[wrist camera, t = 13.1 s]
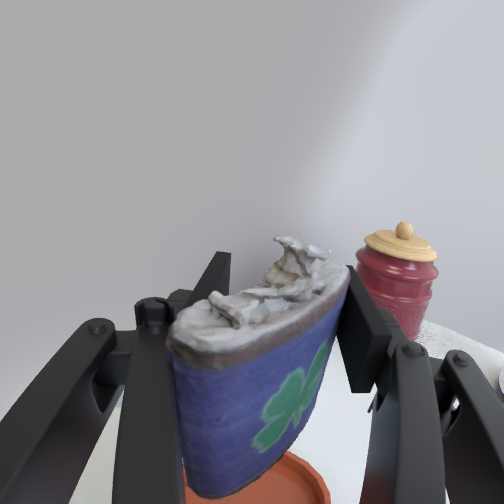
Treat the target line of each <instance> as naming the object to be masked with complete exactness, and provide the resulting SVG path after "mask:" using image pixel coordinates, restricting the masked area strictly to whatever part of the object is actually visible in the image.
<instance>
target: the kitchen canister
mask: <svg viewBox="0 0 504 504" xmlns="http://www.w3.org/2000/svg"><path fill="white" fill-rule="evenodd" d="M364 241H365V243H366V246H365V247H363V248H360V249H359V250H358V251H357V252H356V258H357V260H358V264H357V267H356V269H355V271H356V273H357V274H358V276H359V278H360V279H361V281H362V282H363V284H364V286H365V287H366V289H367V291H368V293H369V294H370V296H371V298H372V299H373V301H374V303H375V304H376V306H377V308H381V309H387V310H388V311H389V312H391V313H392V314H393V315H394V316H395V318H396V320H397V322H398V323H399V324H400V327H401V328H402V329H403V331H404V333H405V334H406V336H407V338H408V339H409V341H413V342H414V341H415V340H416V339H417V337H418V334H419V332H420V326H421V323H422V320H423V317H424V314H425V312H426V309H427V306H428V302H429V299H430V298H431V296H432V290H431V286H432V281H433V280H434V279H435V278H436V277H437V276H438V270H437V268H436V266H435V265H434V264H433V261H434V260H435V259H436V258H437V253H436V252H435V251H434V250H433V249H432V248H431V246H430V244H429V243H428V242H427V241H425V240H423V239H421V238H419V237H416V236H413V227H412V226H411V224H410V223H408V222H400V223H399V224H398V225H397V227H396V231H391V230H378V231H376V232H375V233H373V234H370V235H368V236H366V237H365V238H364Z"/></svg>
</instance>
